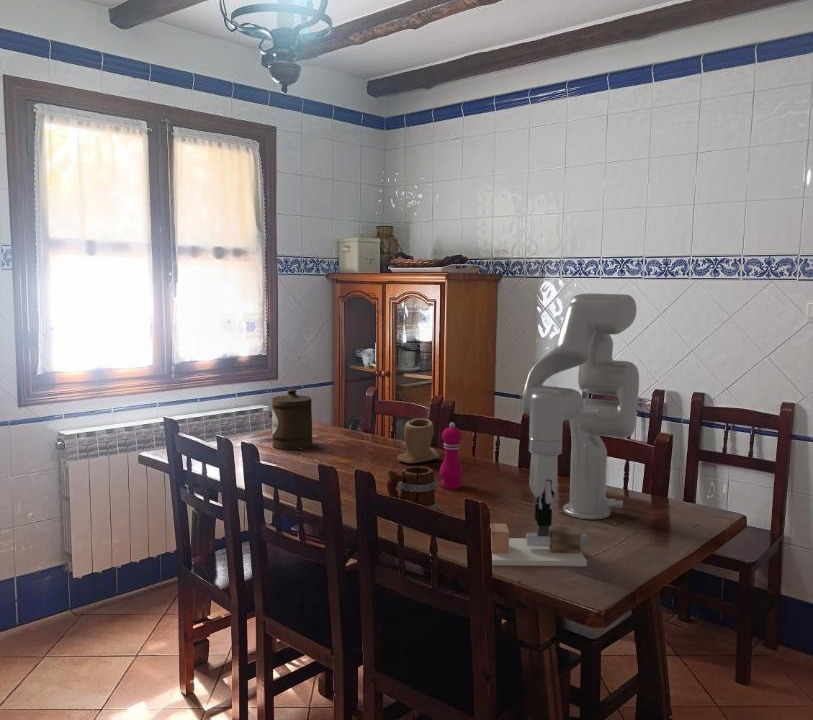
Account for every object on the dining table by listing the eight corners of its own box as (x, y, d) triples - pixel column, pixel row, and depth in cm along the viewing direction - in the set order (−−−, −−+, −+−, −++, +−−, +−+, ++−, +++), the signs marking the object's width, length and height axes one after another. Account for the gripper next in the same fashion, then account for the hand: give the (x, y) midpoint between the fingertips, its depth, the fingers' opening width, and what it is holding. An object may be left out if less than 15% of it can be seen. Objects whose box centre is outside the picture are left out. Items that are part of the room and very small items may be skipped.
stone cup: (412, 468, 249) (412, 424, 247) (392, 460, 259) (393, 418, 257) (448, 462, 258) (448, 419, 256) (428, 455, 267) (428, 414, 266)
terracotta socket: (505, 544, 176) (506, 523, 176) (508, 553, 171) (509, 531, 170) (488, 544, 176) (489, 523, 176) (491, 553, 171) (491, 531, 170)
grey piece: (585, 543, 175) (586, 503, 174) (587, 547, 172) (589, 506, 171) (525, 542, 175) (526, 502, 174) (527, 546, 172) (528, 505, 171)
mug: (449, 513, 201) (442, 461, 199) (404, 530, 195) (395, 477, 192) (428, 502, 212) (421, 452, 209) (384, 517, 205) (376, 466, 203)
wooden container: (279, 440, 289) (278, 384, 286) (316, 442, 287) (316, 385, 284) (267, 449, 274) (266, 390, 271) (306, 450, 272) (305, 391, 269)
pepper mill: (461, 490, 224) (462, 425, 222) (437, 488, 226) (438, 424, 223) (464, 483, 231) (465, 420, 229) (441, 482, 233) (442, 419, 230)
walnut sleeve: (575, 546, 176) (576, 527, 175) (579, 553, 171) (580, 534, 171) (547, 545, 176) (548, 526, 175) (551, 552, 171) (552, 533, 171)
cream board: (573, 543, 181) (573, 538, 181) (586, 566, 167) (586, 561, 167) (482, 542, 181) (482, 537, 181) (488, 565, 167) (488, 559, 167)
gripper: (523, 437, 179) (521, 511, 181) (535, 453, 163) (532, 535, 165) (554, 438, 179) (552, 512, 181) (569, 454, 163) (566, 535, 165)
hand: (542, 522), depth 173 cm, fingers closed on grey piece, 2 cm apart
